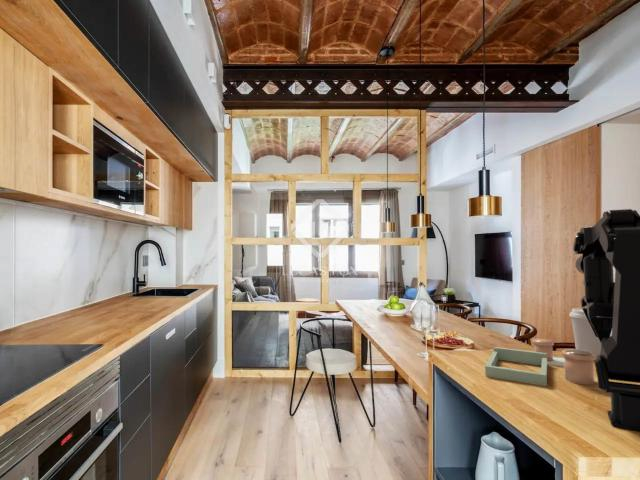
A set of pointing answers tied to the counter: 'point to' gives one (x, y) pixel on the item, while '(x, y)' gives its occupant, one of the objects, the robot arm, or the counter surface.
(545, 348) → the pot
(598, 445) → the counter surface
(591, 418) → the counter surface
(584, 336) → the coffee cup
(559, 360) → the white square board
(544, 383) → the green shallow rectangular frame
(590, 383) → the pot
